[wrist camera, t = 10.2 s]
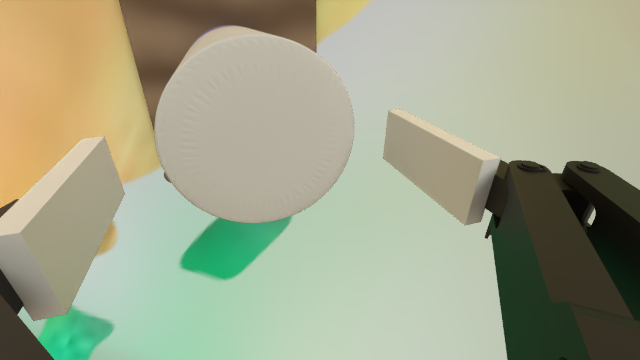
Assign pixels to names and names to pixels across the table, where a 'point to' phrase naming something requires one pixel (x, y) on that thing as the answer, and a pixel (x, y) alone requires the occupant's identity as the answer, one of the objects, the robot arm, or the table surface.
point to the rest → (196, 18)
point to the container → (253, 126)
